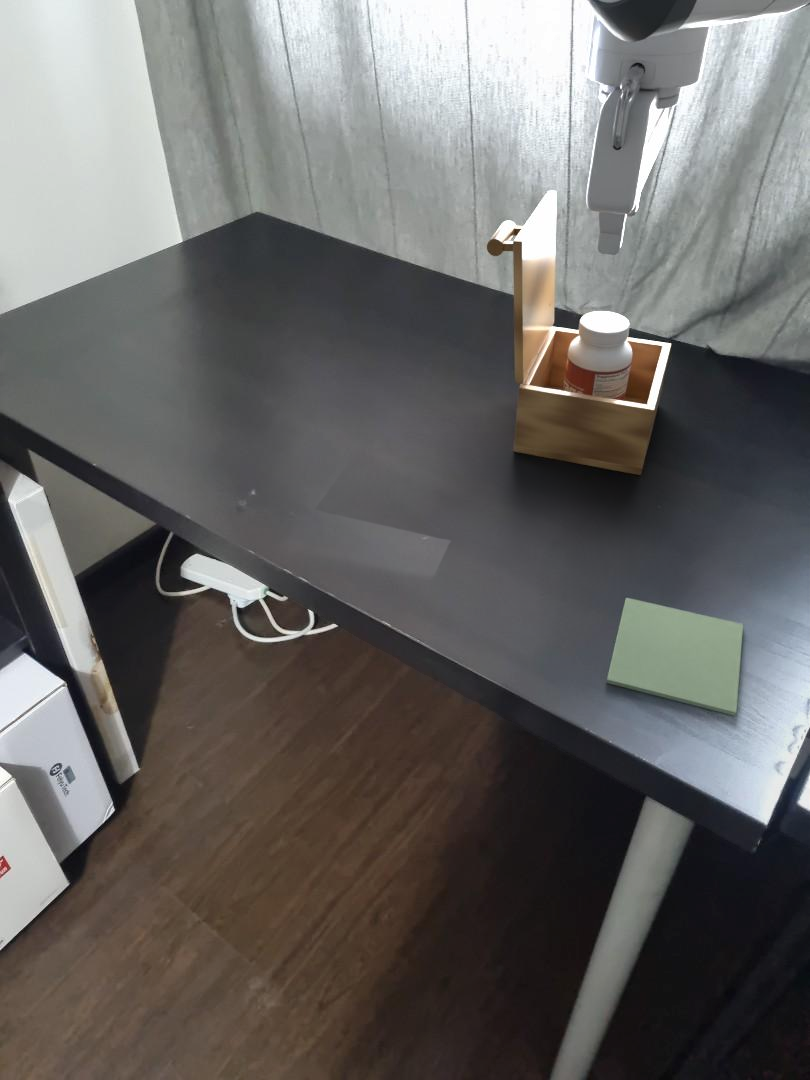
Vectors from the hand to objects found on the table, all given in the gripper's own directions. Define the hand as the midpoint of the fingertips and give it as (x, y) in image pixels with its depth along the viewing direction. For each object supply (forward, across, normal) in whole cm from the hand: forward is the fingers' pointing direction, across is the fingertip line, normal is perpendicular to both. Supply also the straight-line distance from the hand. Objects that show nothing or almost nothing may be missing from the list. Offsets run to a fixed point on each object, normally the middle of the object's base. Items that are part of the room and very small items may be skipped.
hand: (618, 231), depth 73 cm
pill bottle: (+20, 0, 0) cm, 20 cm away
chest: (+20, 0, 0) cm, 20 cm away
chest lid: (+6, 0, +6) cm, 9 cm away
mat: (+20, -29, -12) cm, 37 cm away
